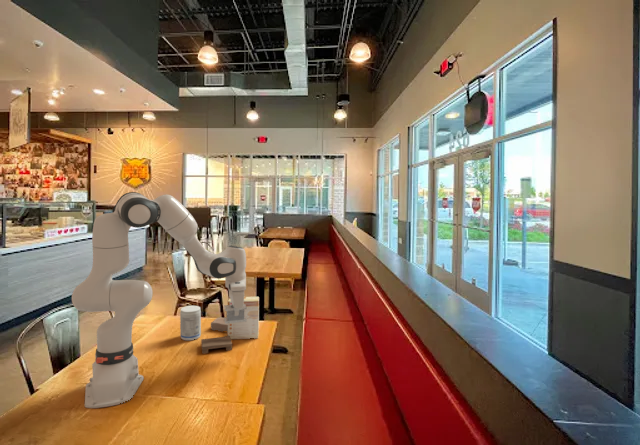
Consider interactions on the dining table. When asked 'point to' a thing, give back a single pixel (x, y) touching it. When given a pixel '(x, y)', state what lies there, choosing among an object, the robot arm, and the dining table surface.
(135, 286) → the robot arm
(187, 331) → the supplement tub
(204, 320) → the dining table surface
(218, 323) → the brick
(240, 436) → the dining table surface
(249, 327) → the coffeecake box
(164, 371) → the dining table surface
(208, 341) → the stand
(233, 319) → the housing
